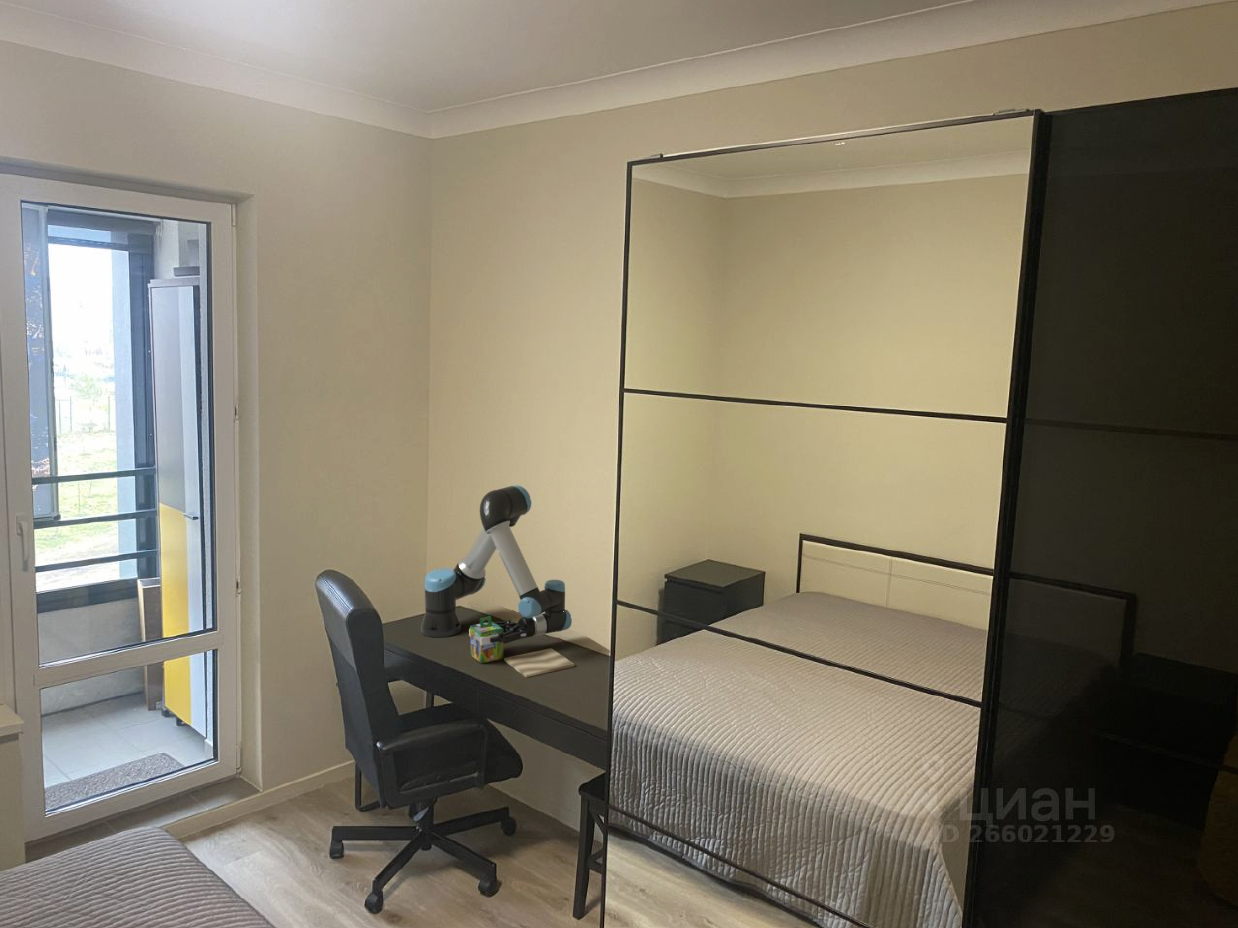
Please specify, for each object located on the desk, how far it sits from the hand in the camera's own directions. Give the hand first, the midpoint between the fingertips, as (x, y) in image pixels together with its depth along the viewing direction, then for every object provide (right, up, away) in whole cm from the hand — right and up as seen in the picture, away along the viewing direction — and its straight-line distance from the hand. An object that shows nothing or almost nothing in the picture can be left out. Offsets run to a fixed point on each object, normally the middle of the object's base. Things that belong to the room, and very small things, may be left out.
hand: (475, 636), depth 311 cm
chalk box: (+4, -8, +4) cm, 10 cm away
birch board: (+23, -9, -1) cm, 25 cm away
